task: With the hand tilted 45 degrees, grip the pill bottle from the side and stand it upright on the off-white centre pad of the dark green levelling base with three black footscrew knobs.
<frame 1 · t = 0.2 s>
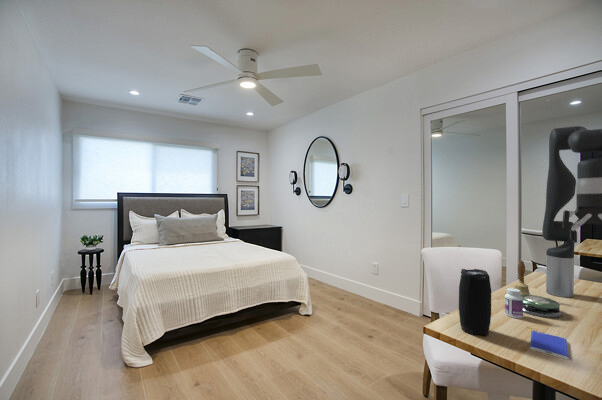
hand: (593, 243, 89), 29 cm above the table, tool pointing down, fingers open, 8 cm apart
hand bell: (521, 297, 123), on the table
portable speaker: (474, 331, 91), on the table
levelling base: (536, 310, 108), on the table
hard drive: (548, 347, 82), on the table
pill bottle: (513, 316, 103), on the table
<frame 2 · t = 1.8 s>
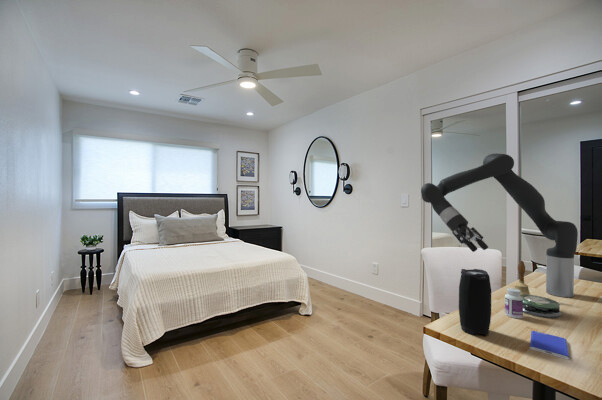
hand: (481, 249, 113), 23 cm above the table, tool tilted 45°, fingers open, 8 cm apart
nothing on the table moved.
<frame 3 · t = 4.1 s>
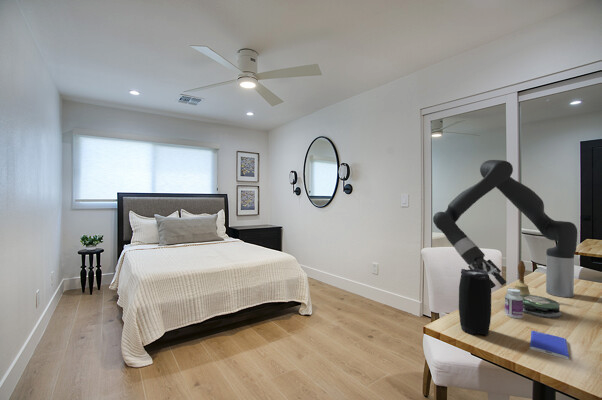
hand: (499, 285, 107), 10 cm above the table, tool tilted 45°, fingers open, 8 cm apart
nothing on the table moved.
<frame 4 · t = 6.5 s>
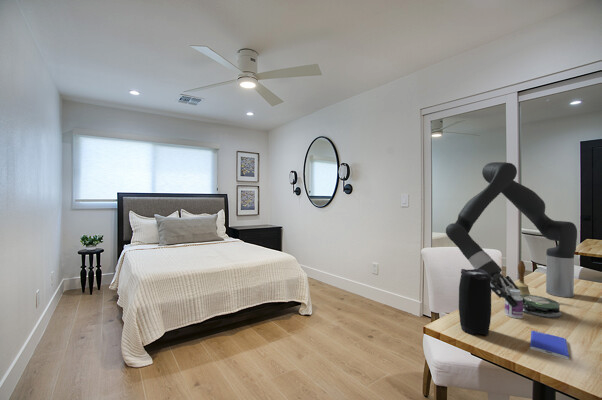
hand: (519, 304, 102), 5 cm above the table, tool tilted 45°, fingers closed on pill bottle, 5 cm apart
pill bottle: (513, 316, 103), on the table, touching gripper
everything else where it was.
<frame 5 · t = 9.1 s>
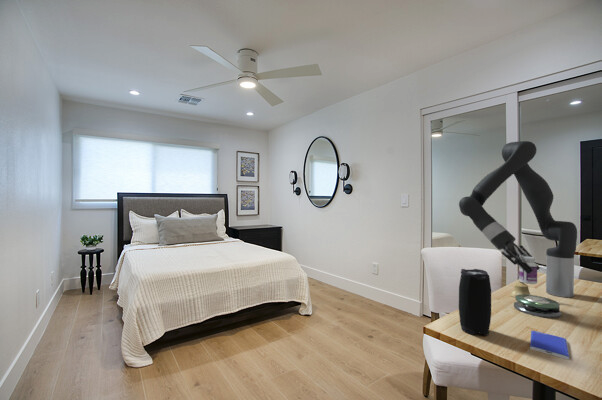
hand: (534, 270, 104), 16 cm above the table, tool tilted 45°, fingers closed on pill bottle, 5 cm apart
pill bottle: (528, 282, 106), point 11 cm above the table, touching gripper
everything else where it was.
when the fingers open (11 cm above the table, at t = 11.6 s): pill bottle drops 2 cm, resting on levelling base.
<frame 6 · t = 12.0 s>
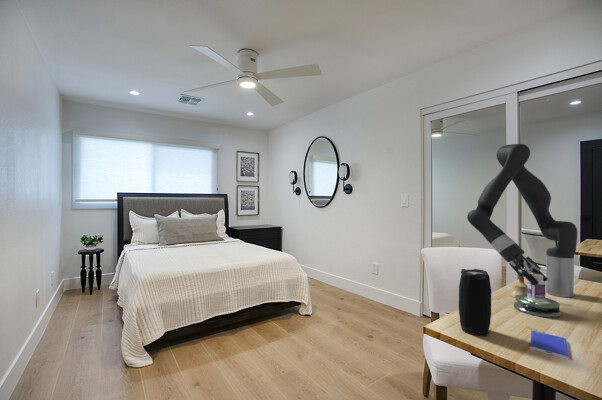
hand: (541, 282, 107), 11 cm above the table, tool tilted 45°, fingers open, 8 cm apart
pill bottle: (536, 299, 108), point 4 cm above the table, touching levelling base
everything else where it was.
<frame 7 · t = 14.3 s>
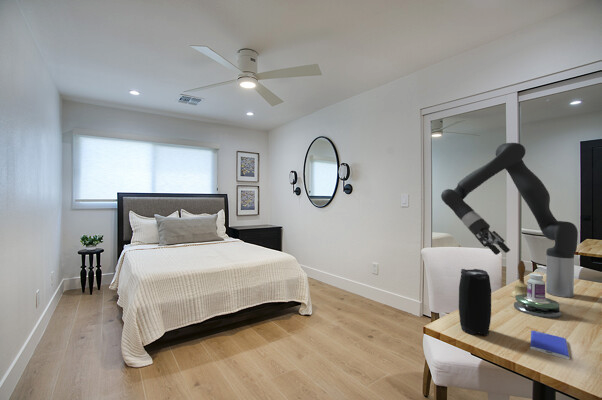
hand: (503, 252, 118), 21 cm above the table, tool tilted 45°, fingers open, 8 cm apart
nothing on the table moved.
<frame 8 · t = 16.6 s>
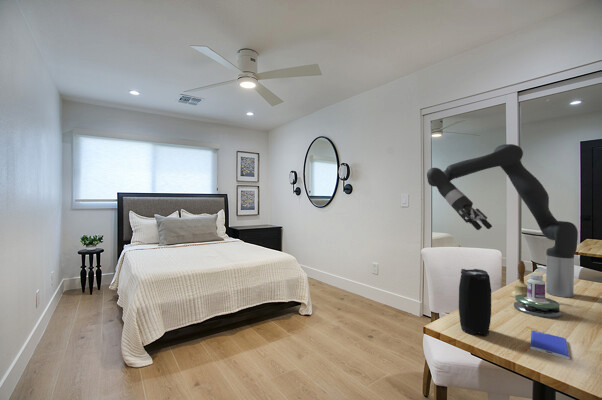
hand: (485, 228, 118), 31 cm above the table, tool tilted 45°, fingers open, 8 cm apart
nothing on the table moved.
at the end: pill bottle 0.3 cm off-centre on the levelling base, point 4.0 cm above the levelling base's base; pill bottle tilted 0°; the gripper is holding nothing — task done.
